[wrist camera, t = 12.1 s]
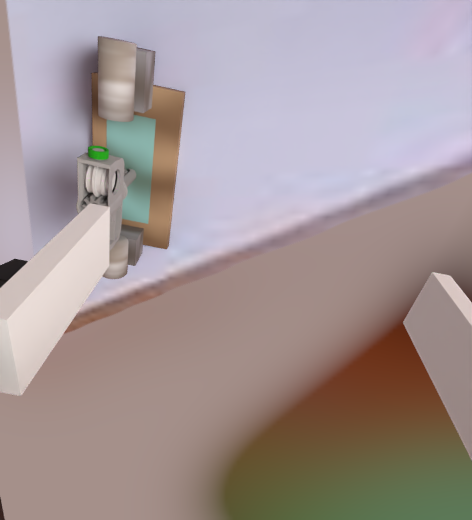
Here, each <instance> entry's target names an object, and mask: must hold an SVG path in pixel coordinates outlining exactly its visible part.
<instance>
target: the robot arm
mask: <svg viewBox="0 0 472 520" xmlns="http://www.w3.org/2000/svg"><path fill="white" fill-rule="evenodd" d="M109 243H110V207H107V206H102V205H97V204H92V203H90V204H89V205H88V206H87V207H86V208H84V209H83V210H82V211H81V212H80V213H79V214H78V215H77V216H76V217H75V218H74V219H73V220H72V221H71V222H70V223H69V224H68V225H66V226H65V227H64V228H63V229H62V230H61V231H60V232H59V233H58V234H57V235H56V236H55V237H54V238H53V239H52V240H51V241H50V242H49V243H47V244H46V245H45V246H44V247H43V248H42V249H41V250H40V251H39V252H38V253H37V254H36V255H35V256H34V257H33V258H32V259H31V260H29V261H24V260H18V259H14V260H11V261H9V262H7V263H5V264H2V265H0V392H2V393H8V394H13V395H19V396H21V395H22V394H23V392H24V390H25V389H26V388H27V386H28V385H29V383H30V382H31V380H32V379H33V377H34V376H35V374H36V373H37V372H38V370H39V368H40V367H41V366H42V364H43V363H44V361H45V360H46V358H47V357H48V355H49V354H50V352H51V351H52V349H53V348H54V346H55V345H56V343H57V342H58V341H59V339H60V338H61V336H62V335H63V333H64V332H65V330H66V329H67V327H68V326H69V324H70V323H71V321H72V320H73V318H74V317H75V315H76V314H77V313H78V311H79V310H80V308H81V307H82V305H83V304H84V302H85V301H86V299H87V298H88V296H89V295H90V293H91V292H92V290H93V289H94V287H95V286H96V285H97V283H98V282H99V280H100V279H101V277H102V276H103V274H104V273H105V271H106V270H107V268H108V267H109ZM403 324H404V326H405V328H406V330H407V332H408V334H409V336H410V337H411V340H412V342H413V344H414V346H415V348H416V350H417V352H418V354H419V356H420V358H421V360H422V362H423V364H424V366H425V368H426V370H427V372H428V374H429V376H430V378H431V380H432V381H433V384H434V386H435V388H436V390H437V392H438V394H439V396H440V398H441V400H442V402H443V404H444V406H445V408H446V410H447V412H448V414H449V415H450V418H451V420H452V422H453V423H454V426H455V428H456V430H457V432H458V434H459V435H460V438H461V439H462V442H463V444H464V446H465V447H466V450H467V452H468V454H469V456H470V457H471V460H472V302H470V300H469V299H468V297H467V296H466V295H465V294H464V292H463V291H462V290H461V289H460V287H459V286H458V285H457V284H456V283H455V281H454V280H453V279H452V277H451V276H448V275H444V274H439V273H434V272H432V273H431V275H430V277H429V278H428V280H427V282H426V284H425V285H424V287H423V289H422V291H421V292H420V294H419V296H418V297H417V299H416V301H415V303H414V304H413V306H412V308H411V309H410V311H409V313H408V315H407V316H406V318H405V320H404V322H403ZM0 520H5V519H4V514H3V509H2V504H1V499H0Z"/></svg>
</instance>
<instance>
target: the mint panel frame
mask: <svg viewBox="0 0 472 520" xmlns="http://www.w3.org/2000/svg"><path fill="white" fill-rule="evenodd" d="M154 64H155V51H151V50H146V49H142V48H137V44H135V43H132V42H128V41H124V40H119V39H114V38H108V37H101V36H98V73H97V72H94V73H91V74H92V135H93V146H102V147H105V148H107V149H109V155H111V156H115V157H120V158H123V160H124V168H126V170H127V171H128V172H129V169H133V170H135V172H136V178H135V180H134V181H133V182H132V183H131V184H130V185H129V186H128V187H127V189H128V193H127V196H126V198H125V199H124V200H123V205H122V224H121V232H120V236H119V239H118V241H117V242H116V244H115V245H114V247H113V248H112V249H111V250H110V251H109V267H108V268H107V270H106V271H105V273H104V274H103V277H105V278H108V279H119V278H122V277H124V276H125V275H126V274H127V267H128V265H133V266H135V265H136V263H137V261H138V260H139V258H140V256H141V254H142V248H143V245H148V246H153V247H158V248H163V249H167V248H168V246H169V237H170V228H171V219H172V210H173V200H174V191H175V182H176V173H177V164H178V155H179V145H180V136H181V127H182V118H183V109H184V99H185V92H184V91H179V90H175V89H170V88H165V87H161V86H156V85H153V80H154Z"/></svg>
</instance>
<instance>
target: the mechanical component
mask: <svg viewBox="0 0 472 520" xmlns="http://www.w3.org/2000/svg"><path fill="white" fill-rule="evenodd" d="M88 164H89V165H88ZM87 165H88V166H87ZM77 176H78V201H77V205H76V209H77V212H78V214H79V213H80V212H81V211H82V210H83V209H84V208H86V207H87V206H88V205H89V204H90V203H92V204H97V205H102V206H107V207H110V243H109V251H110V250H111V249H112V248H113V247H114V245H115V244H116V242H117V241H118V239H119V236H120V232H121V224H122V205H123V200H124V199H125V198H126V196H127V193H128V189H127V187H128V186H129V185H130V184H131V183H132V182H133V181H134V180H135V178H136V172H135V170H133V169H129V172H128V171H127V170H126V168H124V160H123V158H120V157H115V156H111V155H109V149H107V148H105V147H102V146H89V147H88V153H84V154H83V155H81V156H80V157H78V158H77ZM84 185H85V186H84Z"/></svg>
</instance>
